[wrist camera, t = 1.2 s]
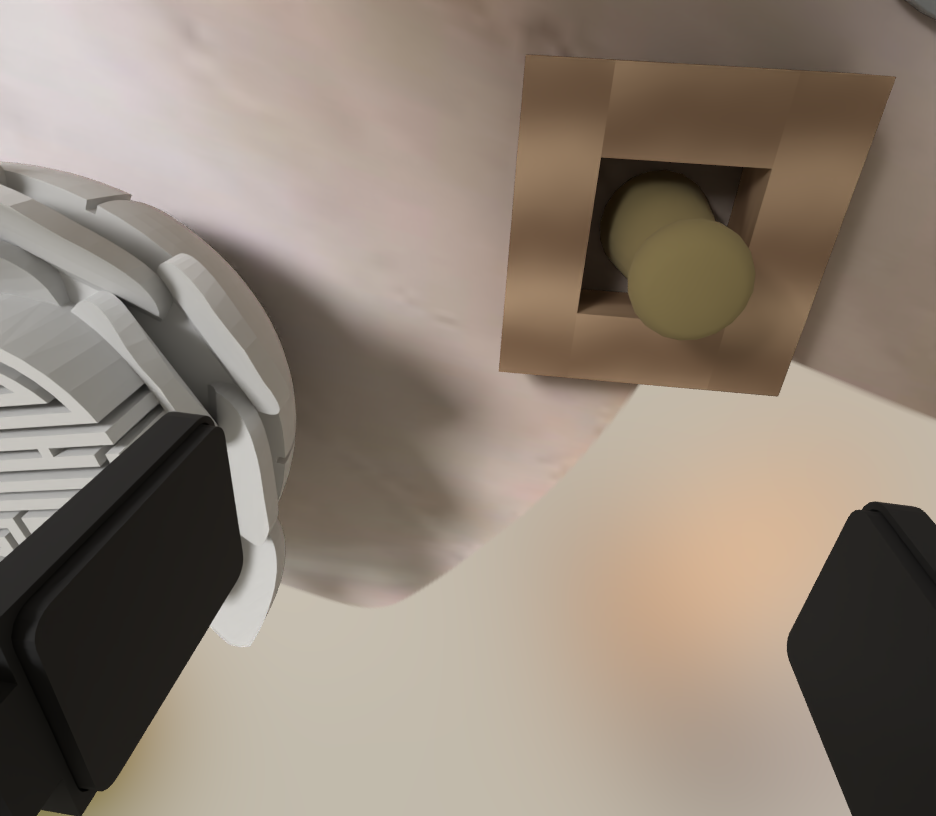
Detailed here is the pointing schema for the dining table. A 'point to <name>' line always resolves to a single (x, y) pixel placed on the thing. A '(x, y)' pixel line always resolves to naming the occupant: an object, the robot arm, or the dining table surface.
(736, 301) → the cork
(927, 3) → the slate mat
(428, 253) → the dining table surface
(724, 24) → the dining table surface
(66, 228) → the decorative bowl
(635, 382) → the walnut holder
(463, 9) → the dining table surface
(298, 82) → the dining table surface
